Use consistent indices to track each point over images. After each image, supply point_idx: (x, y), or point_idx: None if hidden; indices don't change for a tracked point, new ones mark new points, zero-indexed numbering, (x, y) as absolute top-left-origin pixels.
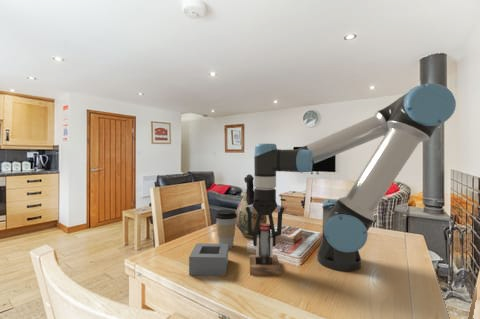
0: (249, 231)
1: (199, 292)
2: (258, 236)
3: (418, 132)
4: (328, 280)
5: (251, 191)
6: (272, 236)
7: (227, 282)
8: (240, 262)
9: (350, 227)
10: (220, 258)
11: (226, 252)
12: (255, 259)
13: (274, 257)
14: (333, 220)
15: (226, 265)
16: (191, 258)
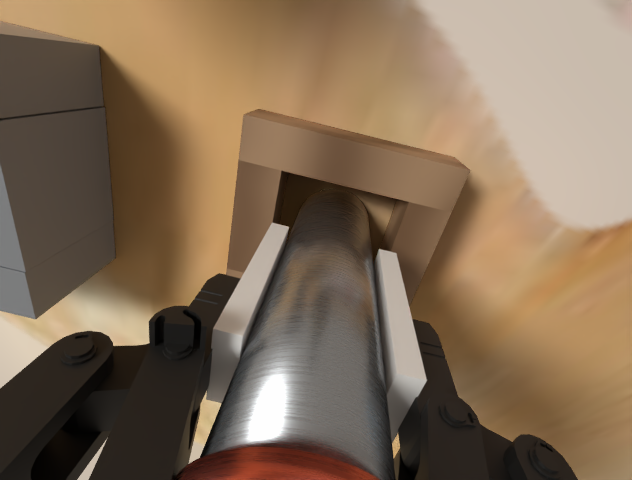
0: (59, 450)
1: (41, 342)
2: (231, 374)
3: None
4: (589, 391)
5: None
6: (400, 439)
7: (132, 308)
8: (192, 114)
9: None
10: (7, 307)
11: (16, 245)
12: (274, 211)
13: (427, 208)
14: None
15: (88, 233)
16: None
